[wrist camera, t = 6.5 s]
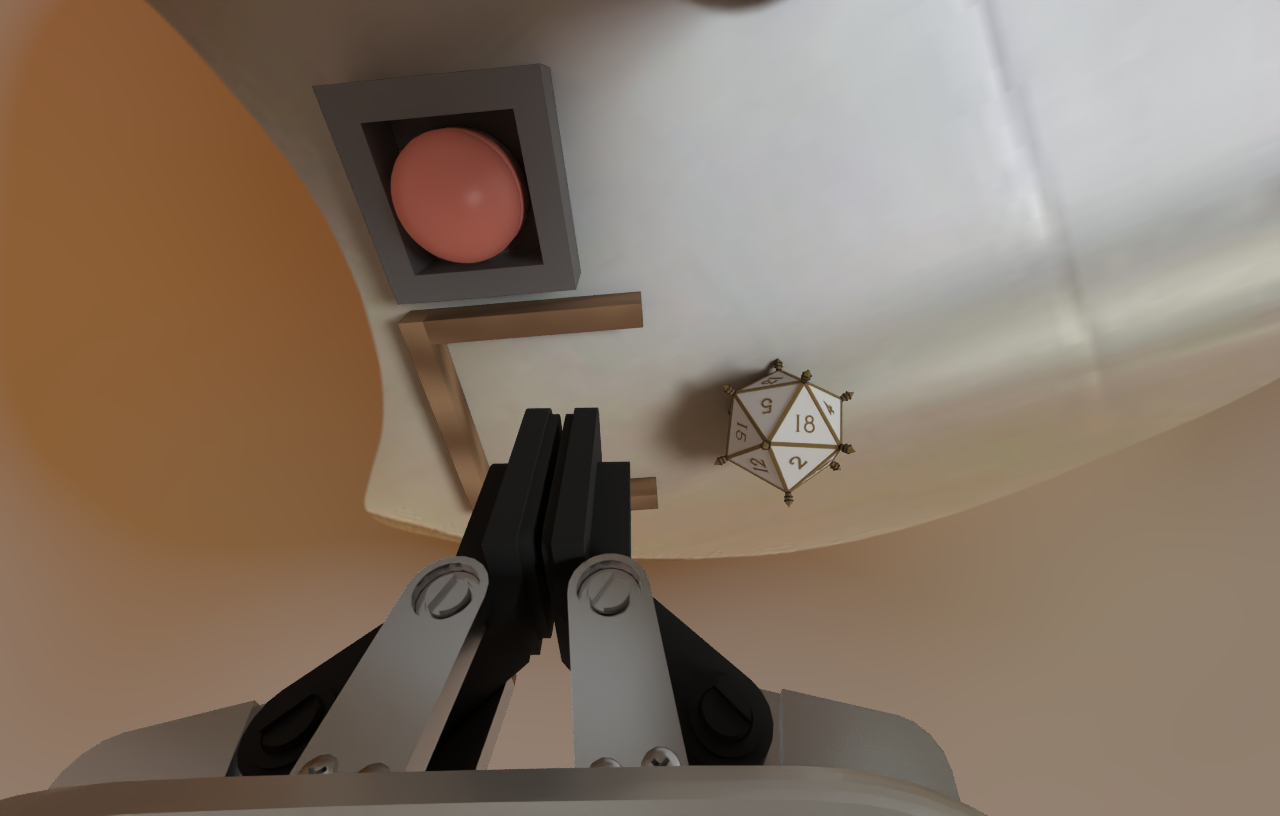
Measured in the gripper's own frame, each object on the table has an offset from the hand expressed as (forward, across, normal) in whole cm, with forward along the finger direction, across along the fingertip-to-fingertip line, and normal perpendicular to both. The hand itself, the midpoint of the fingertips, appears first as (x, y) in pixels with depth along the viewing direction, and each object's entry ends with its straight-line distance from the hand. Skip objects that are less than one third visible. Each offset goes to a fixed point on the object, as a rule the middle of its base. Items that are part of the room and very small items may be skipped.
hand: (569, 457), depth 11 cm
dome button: (+20, +7, -3) cm, 21 cm away
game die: (+19, -11, +11) cm, 25 cm away
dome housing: (+19, +7, -3) cm, 21 cm away
